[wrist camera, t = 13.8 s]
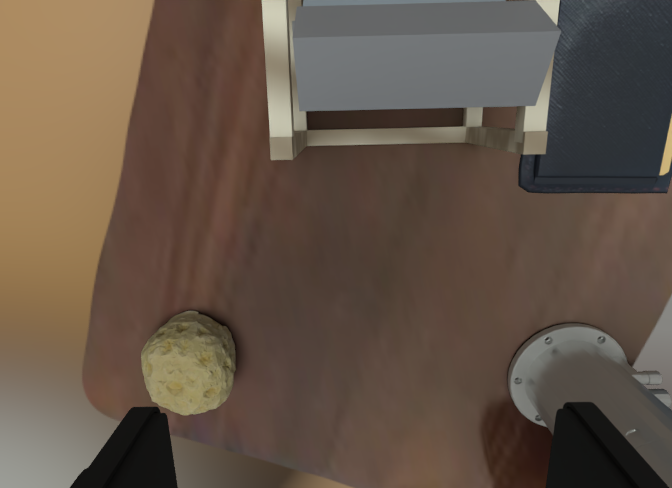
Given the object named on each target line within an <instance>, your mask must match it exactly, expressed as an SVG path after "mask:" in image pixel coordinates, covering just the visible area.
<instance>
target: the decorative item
mask: <svg viewBox="0 0 672 488" xmlns="http://www.w3.org/2000/svg"><path fill="white" fill-rule="evenodd" d="M141 360H142V371H143V375H144V379H145V384H146V387H147V390H148V391H149V394H150V396H151V398H152V401H153V402H156V403H157V404H158V405H160V406H162V407H164V408H168V409H169V410H171V411H173V412H176V413H179V414H181V415H189V414H199V413H202V412H206V411H208V410H211V409H216V408H217V407H218V406H220V405H221V404H222V403H223V402H225V401H226V399H227V397H228V396H229V394H230V391H231V389H232V387H233V383H234V381H233V377H234V372H235V370H236V367H235V362H236V361H235V344H234V342H233V339H232V336H231V333H230V332H229V330H228V328H227V327H226V326H222V325H220V324H219V323H217V322H215V321H214V320H213V319H211V318H209V317H207V316H205V315H200V314H199V313H198V312H197V311H186V312H183V313H180V314H178V315H175V316H174V317H172V318H171V319H170V320H169V321H168V322H167V323H166V324H165V325H164V326H162V327H160V328H159V330H158V331H156V333H155V334H154V335H153V336H152V337H151V338H150V339H149V340H148V341H147V343H146V345H145V346H144V348H143V350H142V352H141Z"/></svg>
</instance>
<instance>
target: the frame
mask: <svg viewBox="0 0 672 488" xmlns="http://www.w3.org/2000/svg"><path fill="white" fill-rule="evenodd" d="M526 1H530V0H526ZM536 1H537V3H538V4H539V5H540V6H541V7H542V9H543V10H544V11H545V12H546V13H547V15H548V16H549V17H550V18H551V19H552V21H553V22H554V23H555V24H556V25H557V22H558V12H559V3H560V0H536ZM297 6H303V4H302V0H262V13H263V29H264V45H265V62H266V78H267V94H268V110H269V126H270V137H269V138H270V154H271V160H293V159H294V158H295V157H296V156H297V155H298V154H299V153H300V152H301V151H302V150H303V149H304V148H305V147H307V146H327V145H372V144H418V143H463V142H465V143H470V144H475V145H480V146H485V147H489V148H494V149H499V150H504V151H508V152H513V153H518V154H523V155H527V154H546V145H547V135H548V131H546V124H547V115H548V106H549V96H550V87H551V78H552V68H553V59H554V54H553V57H552V60H551V62H550V65H549V68H548V71H547V74H546V77H545V80H544V83H543V85H542V88H541V91H540V94H539V97H538V100H537V103H536V106H517V113H516V125H515V129H510V128H497V127H483V126H482V112H483V107H466V108H464V111H463V126H460V127H416V128H371V129H327V130H307V111H299V102H298V91H297V81H296V70H295V59H294V48H293V31H292V21H295V16H296V9H297Z"/></svg>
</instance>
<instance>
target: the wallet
mask: <svg viewBox="0 0 672 488" xmlns="http://www.w3.org/2000/svg"><path fill="white" fill-rule="evenodd" d="M557 27H558V28H559V29H560V30H561V34H560V37H559V39H558V42H557V45H556V48H555V51H554V59H553V68H552V78H551V87H550V96H549V106H548V115H547V124H546V131H548V135H547V145H546V154H527V155H523V154H521V158H520V164H519V186H520V187H521V188H523V189H524V190H526V191H527V192H532V193H667V192H668V188H669V184H670V180H671V177H672V0H560V3H559V12H558V22H557Z"/></svg>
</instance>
